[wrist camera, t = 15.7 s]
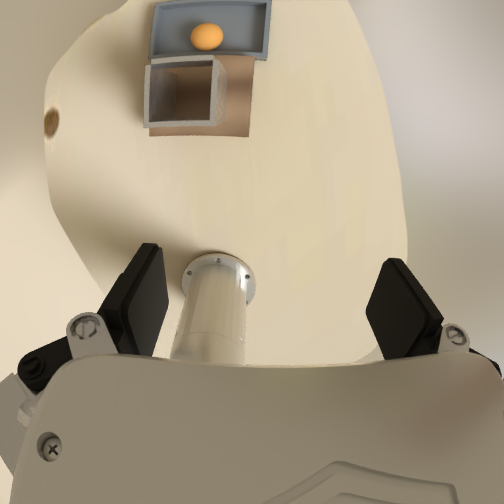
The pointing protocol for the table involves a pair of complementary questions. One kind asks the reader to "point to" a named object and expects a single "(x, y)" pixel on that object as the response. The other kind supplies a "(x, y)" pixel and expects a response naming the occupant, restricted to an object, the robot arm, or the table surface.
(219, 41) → the ball
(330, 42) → the table surface
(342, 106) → the table surface
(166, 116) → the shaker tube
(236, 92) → the stand
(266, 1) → the tray
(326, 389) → the robot arm
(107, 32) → the table surface
